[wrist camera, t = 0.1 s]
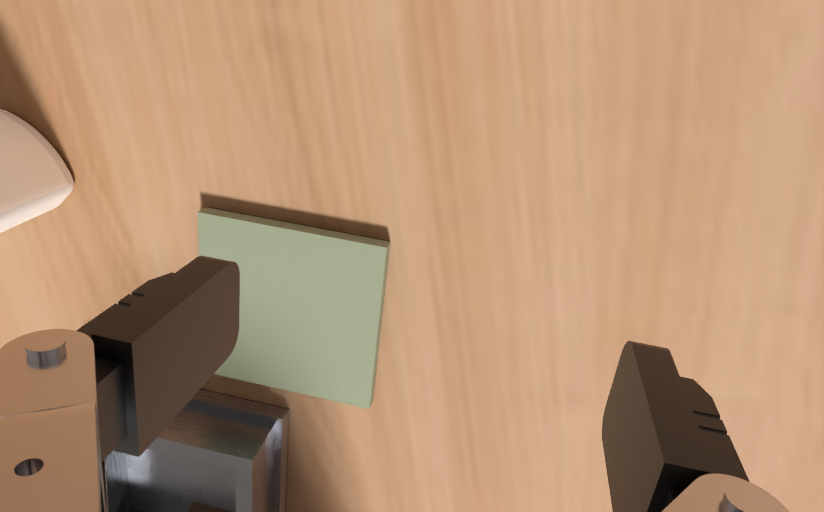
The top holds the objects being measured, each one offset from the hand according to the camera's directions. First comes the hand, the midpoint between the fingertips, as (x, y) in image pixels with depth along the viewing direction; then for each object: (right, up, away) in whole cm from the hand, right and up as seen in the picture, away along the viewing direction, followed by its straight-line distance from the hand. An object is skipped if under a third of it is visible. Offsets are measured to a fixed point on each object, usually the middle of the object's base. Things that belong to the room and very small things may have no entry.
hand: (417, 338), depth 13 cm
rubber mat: (-7, -1, +21) cm, 22 cm away
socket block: (-14, -12, +27) cm, 33 cm away
